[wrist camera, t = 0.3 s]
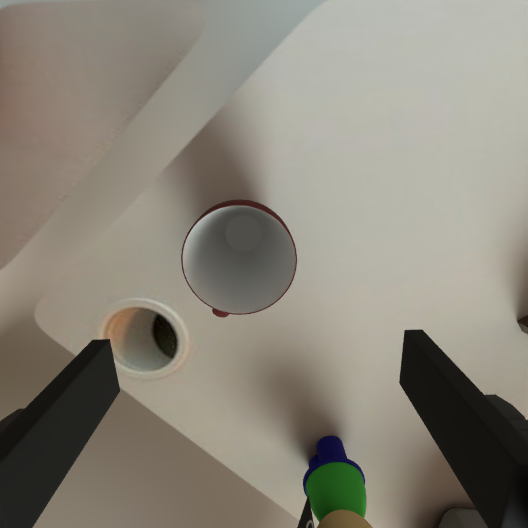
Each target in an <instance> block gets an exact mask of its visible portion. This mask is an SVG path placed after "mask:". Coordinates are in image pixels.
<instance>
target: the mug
mask: <svg viewBox="0 0 528 528" xmlns="http://www.w3.org/2000/svg"><path fill="white" fill-rule="evenodd" d="M181 260H182V269H183V273H184V276H185V279H186V281H187V283H188V285H189V287H190V288H191V290H192V291H193V293H194V294H195V295H196V296H197V297H198V298H199V299H200V300H201V301H203V302H204V303H205V304H207V305H208V306H210V307H212V308H213V310H212V311H213V314H215V315H216V316H218V317H226V316H228V315H229V314H239V315H241V314H251V313H255V312H259V311H261V310H264V309H266V308H268V307H270V306H271V305H273V304H274V303H276V302H277V301H278V300H279V299H280V298H281V297H282V296H283V295H284V294H285V293H286V291H287V290H288V288H289V287H290V285H291V283H292V281H293V278H294V275H295V271H296V265H297V254H296V248H295V244H294V241H293V238H292V236H291V234H290V232H289V230H288V228H287V226H286V225H285V223H284V222H283V220H282V219H281V218H280V217H279V216H278V215H277V214H276V213H275V212H273V211H272V210H271V209H269V208H268V207H266V206H264V205H262V204H260V203H257V202H253V201H249V200H231V201H226V202H223V203H220V204H218V205H216V206H214V207H212V208H210V209H209V210H207V211H206V212H205V213H204V214H203V215H202V216H201V217H200V218H199V219H198V220H197V221H196V222H195V223H194V225H193V226H192V227H191V229H190V230H189V232H188V234H187V236H186V238H185V241H184V244H183V248H182V256H181Z"/></svg>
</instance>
